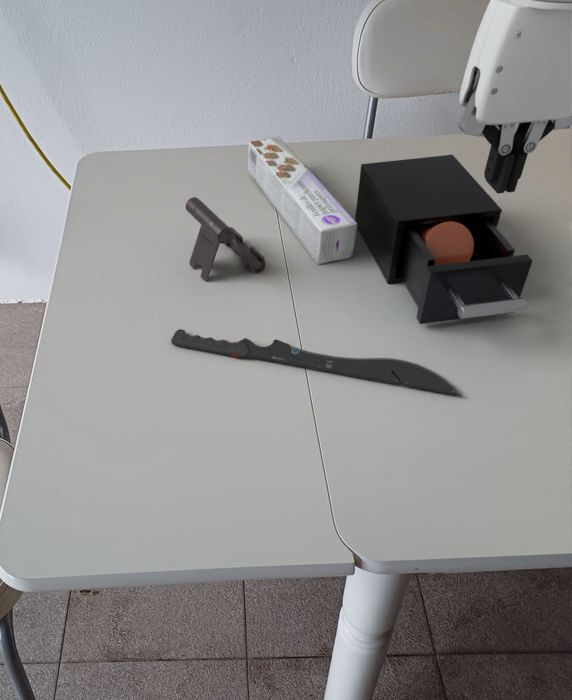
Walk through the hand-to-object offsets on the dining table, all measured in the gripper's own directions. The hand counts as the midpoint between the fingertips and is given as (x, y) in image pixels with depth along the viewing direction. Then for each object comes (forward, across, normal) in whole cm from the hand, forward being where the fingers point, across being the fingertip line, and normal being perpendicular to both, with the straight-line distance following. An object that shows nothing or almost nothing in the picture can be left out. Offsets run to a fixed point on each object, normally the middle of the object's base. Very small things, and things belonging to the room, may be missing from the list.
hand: (499, 185), depth 64 cm
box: (+18, +14, -27) cm, 35 cm away
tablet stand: (+18, +26, -16) cm, 35 cm away
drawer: (+16, 0, -4) cm, 17 cm away
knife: (+17, +19, +4) cm, 26 cm away
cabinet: (+17, 0, -16) cm, 23 cm away
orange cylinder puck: (+13, 0, -9) cm, 15 cm away
